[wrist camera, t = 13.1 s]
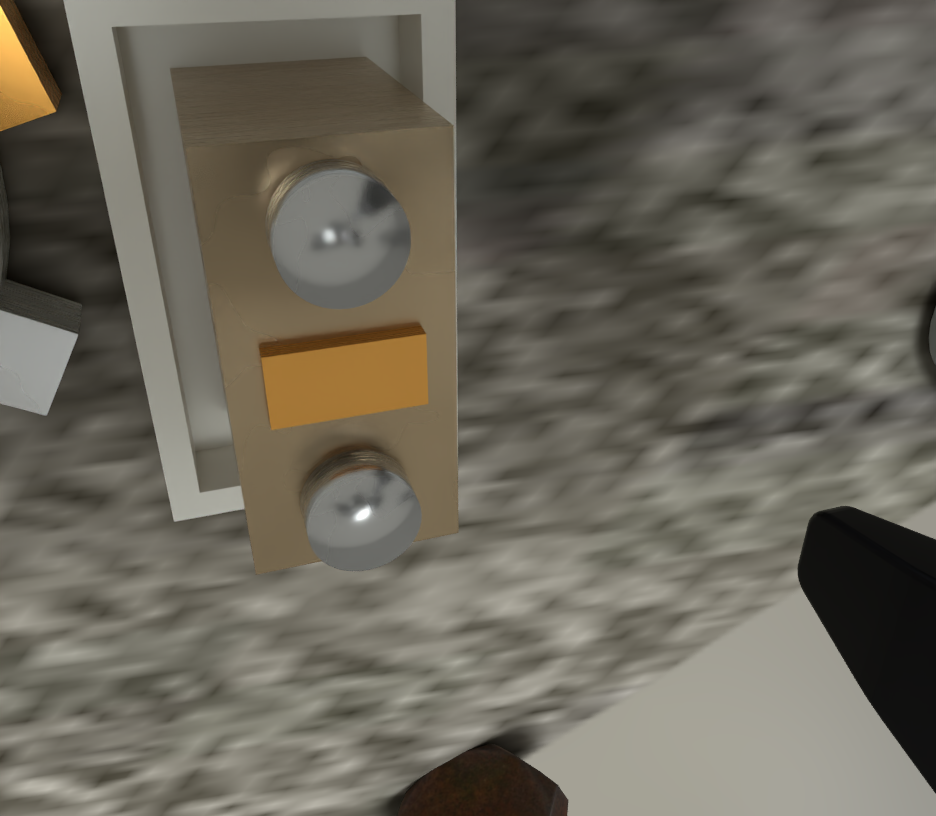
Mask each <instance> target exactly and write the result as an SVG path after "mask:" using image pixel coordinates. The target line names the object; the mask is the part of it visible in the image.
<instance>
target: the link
mask: <svg viewBox="0 0 936 816" xmlns="http://www.w3.org/2000/svg"><path fill="white" fill-rule="evenodd" d="M170 73H171V79H172V85H173V91H174V97H175V103H176V109H177V115H178V121H179V127H180V133H181V139H182V145H183V151H184V157H185V163H186V169H187V175H188V181H189V187H190V193H191V199H192V204H193V210H194V216H195V222H196V228H197V234H198V240H199V246H200V252H201V258H202V264H203V270H204V276H205V282H206V288H207V294H208V300H209V306H210V312H211V318H212V324H213V330H214V336H215V342H216V348H217V353H218V359H219V365H220V371H221V377H222V383H223V389H224V395H225V401H226V407H227V413H228V419H229V424H230V430H231V436H232V441H233V447H234V453H235V458H236V464H237V470H238V475H239V481H240V486H241V492H242V498H243V503H244V509H245V515H246V520H247V526H248V532H249V537H250V543H251V549H252V554H253V560H254V566H255V571H256V575H257V574H262V573H267V572H272V571H276V570H281V569H286V568H291V567H296V566H300V565H305V564H310V563H315V562H320V561H323V562H324V563H326V564H328V565H329V566H332V567H334V568H337V569H340V570H346V571H364V570H370V569H374V568H377V567H380V566H382V565H385V564H387V563H389V562H391V561H392V560H394V559H396V558H397V557H398V556H400V555H401V554H402V553H403V552H404V551H405V550H406V549H407V548H408V547H409V546H410V545H411V544H412V542H416V541H421V540H425V539H430V538H435V537H440V536H445V535H449V534H454V533H458V454H457V369H456V285H455V201H454V125H453V124H451V123H450V122H449V121H447V120H446V119H445V118H444V117H442V116H441V115H440V114H439V113H437V112H436V111H435V110H433V109H432V108H431V107H430V106H428V105H427V104H426V103H425V102H423V101H422V100H421V99H419V98H418V97H417V96H416V95H414V94H413V93H412V92H411V91H409V90H408V89H407V88H405V87H404V86H403V85H402V84H400V83H399V82H398V81H397V80H395V79H394V78H393V77H391V76H390V75H389V74H388V73H386V72H385V71H384V70H383V69H381V68H380V67H379V66H377V65H376V64H375V63H374V62H372V61H371V60H370V59H369V58H367V57H350V58H334V59H317V60H300V61H283V62H267V63H250V64H233V65H217V66H200V67H183V68H170Z"/></svg>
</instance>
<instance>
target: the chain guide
mask: <svg viewBox="0 0 936 816" xmlns="http://www.w3.org/2000/svg"><path fill="white" fill-rule="evenodd" d="M63 1H64V6H65V10H66V15H67V20H68V24H69V29H70V34H71V38H72V43H73V48H74V53H75V57H76V62H77V67H78V71H79V76H80V81H81V86H82V90H83V95H84V100H85V104H86V109H87V114H88V119H89V123H90V128H91V133H92V137H93V142H94V147H95V151H96V156H97V161H98V166H99V170H100V175H101V180H102V184H103V189H104V194H105V199H106V203H107V208H108V213H109V217H110V222H111V227H112V232H113V236H114V241H115V246H116V250H117V255H118V260H119V264H120V269H121V274H122V279H123V283H124V288H125V293H126V297H127V302H128V307H129V312H130V316H131V321H132V326H133V330H134V335H135V340H136V345H137V349H138V354H139V359H140V363H141V368H142V373H143V377H144V382H145V387H146V392H147V396H148V401H149V406H150V410H151V415H152V420H153V425H154V429H155V434H156V439H157V443H158V448H159V453H160V457H161V462H162V467H163V472H164V476H165V481H166V486H167V490H168V495H169V500H170V505H171V509H172V514H173V519H174V522H176V521H181V520H187V519H192V518H197V517H203V516H208V515H214V514H219V513H225V512H230V511H236V510H241V509H244V503H243V498H242V492H241V486H240V481H239V475H238V470H237V464H236V458H235V453H234V447H233V441H232V436H231V430H230V424H229V419H228V413H227V407H226V401H225V395H224V389H223V383H222V377H221V371H220V365H219V359H218V353H217V348H216V342H215V336H214V330H213V324H212V318H211V312H210V306H209V300H208V294H207V288H206V282H205V276H204V270H203V264H202V258H201V252H200V246H199V240H198V234H197V228H196V222H195V216H194V210H193V204H192V199H191V193H190V187H189V181H188V175H187V169H186V163H185V157H184V151H183V145H182V139H181V133H180V127H179V121H178V115H177V109H176V103H175V97H174V91H173V85H172V79H171V73H170V68H183V67H200V66H217V65H233V64H250V63H267V62H283V61H300V60H317V59H334V58H350V57H367V58H369V59H370V60H371V61H372V62H374V63H375V64H376V65H377V66H379V67H380V68H381V69H383V70H384V71H385V72H386V73H388V74H389V75H390V76H391V77H393V78H394V79H395V80H397V81H398V82H399V83H400V84H402V85H403V86H404V87H405V88H407V89H408V90H409V91H411V92H412V93H413V94H414V95H416V96H417V97H418V98H419V99H421V100H422V101H423V102H425V103H426V104H427V105H428V106H430V107H431V108H432V109H433V110H435V111H436V112H437V113H439V114H440V115H441V116H442V117H444V118H445V119H446V120H447V121H449V122H450V123H451V124H453V125H454V201H455V285H456V369H457V198H456V0H63ZM457 454H458V397H457Z"/></svg>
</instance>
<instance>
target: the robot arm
mask: <svg viewBox="0 0 936 816" xmlns="http://www.w3.org/2000/svg"><path fill="white" fill-rule="evenodd" d="M798 578H799V582H800V585H801V587H802V590H803V592H804V593H805V595H806V597H807V598H808V600H809V602H810V603H811V605H812V607H813V608H814V610H815V612H816V613H817V615H818V617H819V618H820V620H821V622H822V624H823V625H824V627H825V628H826V630H827V632H828V634H829V635H830V637H831V639H832V640H833V642H834V644H835V646H836V647H837V649H838V651H839V652H840V654H841V656H842V657H843V659H844V661H845V662H846V664H847V666H848V668H849V669H850V671H851V673H852V674H853V676H854V678H855V679H856V681H857V683H858V684H859V686H860V687H861V689H862V691H863V692H864V694H865V695H866V697H867V699H868V700H869V702H870V703H871V705H872V706H873V708H874V709H875V710H876V712H877V713H878V715H879V716H880V718H881V719H882V721H883V722H884V723H885V725H886V726H887V728H888V729H889V730H890V731H891V733H892V734H893V736H894V737H895V738H896V740H897V741H898V742H899V744H900V745H901V747H902V748H903V749H904V751H905V752H906V754H907V755H908V756H909V758H910V759H911V760H912V762H913V763H914V765H915V766H916V767H917V769H918V770H919V771H920V773H921V774H922V776H923V777H924V778H925V780H926V781H927V782H928V784H929V785H930V786H931V788H932V789H933V791H934V792H935V793H936V540H935V539H933V538H930V537H928V536H925V535H922V534H920V533H918V532H915V531H912V530H910V529H907V528H904V527H902V526H900V525H897V524H895V523H892V522H889V521H887V520H884V519H882V518H879V517H877V516H874V515H872V514H869V513H866V512H864V511H861V510H859V509H856V508H853V507H850V506H840V507H836V508H831V509H827V510H823V511H819V512H817V513H815V514H814V515H813V516H812V517H811V518H810V520H809V523H808V526H807V531H806V535H805V539H804V543H803V547H802V551H801V555H800V559H799V563H798Z"/></svg>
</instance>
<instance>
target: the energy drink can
mask: <svg viewBox="0 0 936 816" xmlns="http://www.w3.org/2000/svg"><path fill="white" fill-rule="evenodd" d="M929 349H930V353H931V356H932V359H933V362H934V363H935V365H936V307H935V310H934V313H933V317H932V320H931V324H930V332H929Z"/></svg>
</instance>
